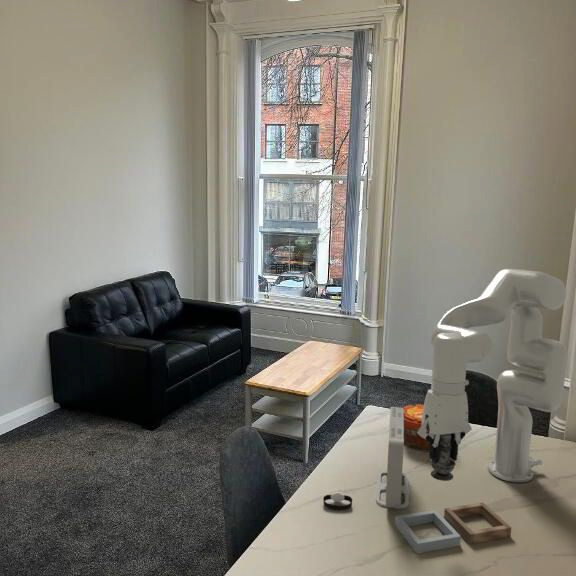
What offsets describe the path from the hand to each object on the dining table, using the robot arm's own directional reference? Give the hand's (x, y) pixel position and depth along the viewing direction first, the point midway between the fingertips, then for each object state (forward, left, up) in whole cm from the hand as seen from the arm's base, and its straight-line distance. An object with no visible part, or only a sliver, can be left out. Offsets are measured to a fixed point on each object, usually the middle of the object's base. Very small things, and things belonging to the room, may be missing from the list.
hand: (442, 458), depth 132 cm
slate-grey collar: (+3, 0, -20) cm, 20 cm away
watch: (+20, -18, -20) cm, 33 cm away
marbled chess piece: (0, 0, -5) cm, 5 cm away
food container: (-21, -47, -20) cm, 55 cm away
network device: (+2, -22, -20) cm, 29 cm away
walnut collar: (-11, 0, -20) cm, 23 cm away
